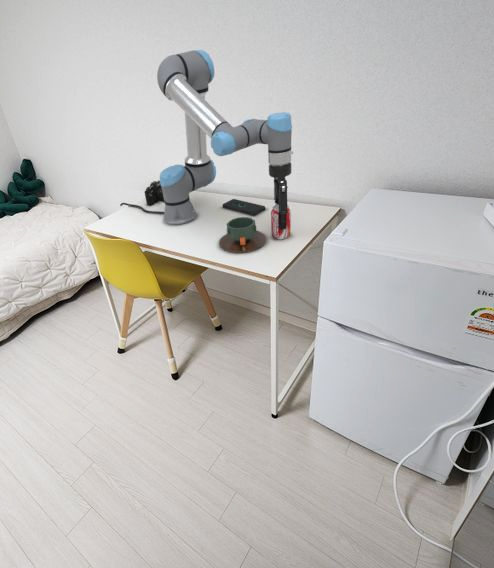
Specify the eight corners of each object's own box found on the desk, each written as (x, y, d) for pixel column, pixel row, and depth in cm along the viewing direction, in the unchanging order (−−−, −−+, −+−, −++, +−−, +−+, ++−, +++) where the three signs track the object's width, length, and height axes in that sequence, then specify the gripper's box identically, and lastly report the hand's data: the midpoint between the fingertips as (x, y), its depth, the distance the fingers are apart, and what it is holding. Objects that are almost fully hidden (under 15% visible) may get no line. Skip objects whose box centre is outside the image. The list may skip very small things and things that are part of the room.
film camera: (167, 205, 182) (163, 187, 176) (145, 207, 185) (141, 189, 179) (175, 193, 196) (172, 175, 190) (155, 194, 199) (151, 177, 194)
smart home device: (233, 198, 170) (265, 205, 156) (233, 201, 171) (266, 209, 157) (221, 204, 166) (253, 212, 152) (221, 207, 167) (253, 216, 153)
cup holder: (227, 230, 139) (226, 219, 136) (255, 226, 137) (254, 215, 135) (228, 246, 128) (226, 234, 125) (258, 243, 126) (257, 231, 123)
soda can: (291, 240, 131) (291, 210, 124) (271, 241, 132) (270, 211, 126) (290, 231, 136) (290, 202, 130) (271, 232, 138) (270, 204, 131)
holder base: (263, 228, 142) (262, 222, 140) (269, 250, 127) (268, 243, 126) (218, 234, 144) (218, 227, 143) (219, 256, 130) (219, 249, 128)
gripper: (297, 170, 110) (296, 235, 123) (285, 153, 127) (286, 212, 139) (273, 173, 111) (274, 237, 124) (265, 157, 128) (267, 215, 140)
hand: (280, 224), depth 132 cm, fingers closed on soda can, 7 cm apart
